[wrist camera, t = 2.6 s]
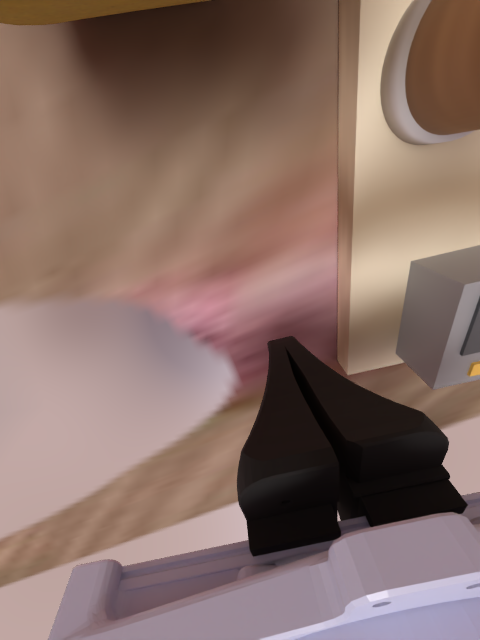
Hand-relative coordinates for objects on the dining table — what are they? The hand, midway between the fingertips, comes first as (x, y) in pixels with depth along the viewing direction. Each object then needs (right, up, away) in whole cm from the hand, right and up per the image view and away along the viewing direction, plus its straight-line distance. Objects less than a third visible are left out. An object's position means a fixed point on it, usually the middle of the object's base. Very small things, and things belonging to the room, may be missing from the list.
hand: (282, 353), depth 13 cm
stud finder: (+9, +3, +1) cm, 9 cm away
